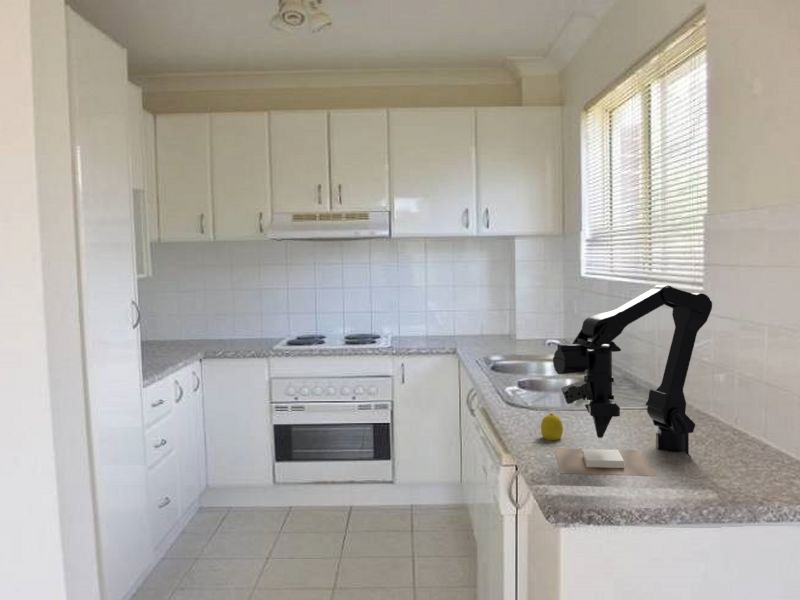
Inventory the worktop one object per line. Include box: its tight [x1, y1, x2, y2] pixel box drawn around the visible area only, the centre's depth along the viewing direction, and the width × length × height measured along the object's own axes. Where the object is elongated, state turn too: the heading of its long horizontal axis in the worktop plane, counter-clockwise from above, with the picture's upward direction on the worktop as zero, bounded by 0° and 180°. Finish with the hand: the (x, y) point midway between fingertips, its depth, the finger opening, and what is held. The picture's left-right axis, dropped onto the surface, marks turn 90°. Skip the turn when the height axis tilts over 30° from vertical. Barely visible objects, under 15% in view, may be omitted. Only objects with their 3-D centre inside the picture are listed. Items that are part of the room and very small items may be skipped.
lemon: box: [540, 412, 564, 441], centre depth 164 cm, size 6×6×8 cm
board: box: [554, 447, 658, 477], centre depth 145 cm, size 20×18×2 cm
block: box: [581, 448, 624, 468], centre depth 144 cm, size 8×2×8 cm
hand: (599, 437), depth 148 cm, fingers closed
